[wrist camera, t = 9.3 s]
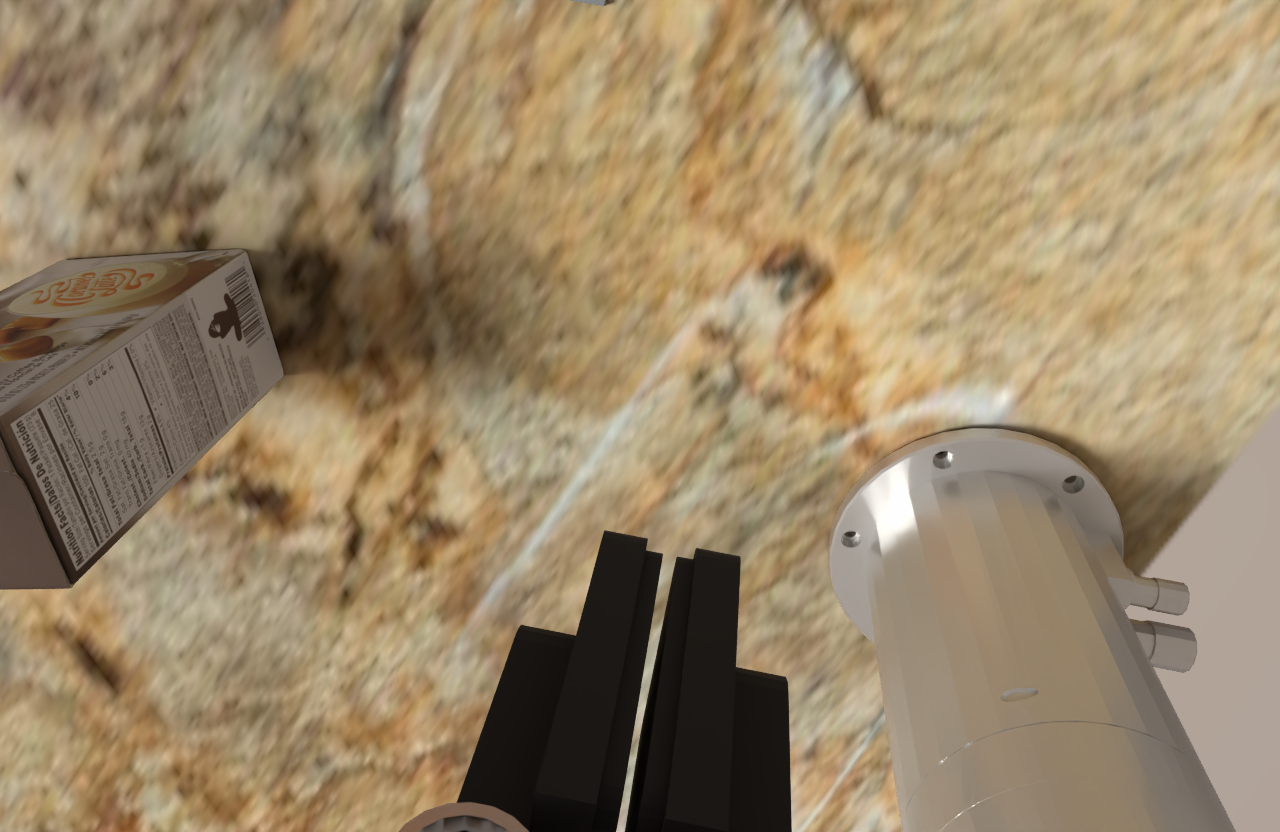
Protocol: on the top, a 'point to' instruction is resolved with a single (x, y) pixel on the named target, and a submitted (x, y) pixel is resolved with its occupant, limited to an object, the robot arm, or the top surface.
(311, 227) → the top surface
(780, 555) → the top surface
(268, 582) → the top surface
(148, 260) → the coffee box
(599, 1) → the slate mat
